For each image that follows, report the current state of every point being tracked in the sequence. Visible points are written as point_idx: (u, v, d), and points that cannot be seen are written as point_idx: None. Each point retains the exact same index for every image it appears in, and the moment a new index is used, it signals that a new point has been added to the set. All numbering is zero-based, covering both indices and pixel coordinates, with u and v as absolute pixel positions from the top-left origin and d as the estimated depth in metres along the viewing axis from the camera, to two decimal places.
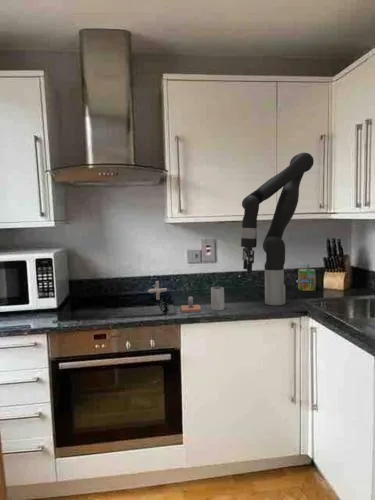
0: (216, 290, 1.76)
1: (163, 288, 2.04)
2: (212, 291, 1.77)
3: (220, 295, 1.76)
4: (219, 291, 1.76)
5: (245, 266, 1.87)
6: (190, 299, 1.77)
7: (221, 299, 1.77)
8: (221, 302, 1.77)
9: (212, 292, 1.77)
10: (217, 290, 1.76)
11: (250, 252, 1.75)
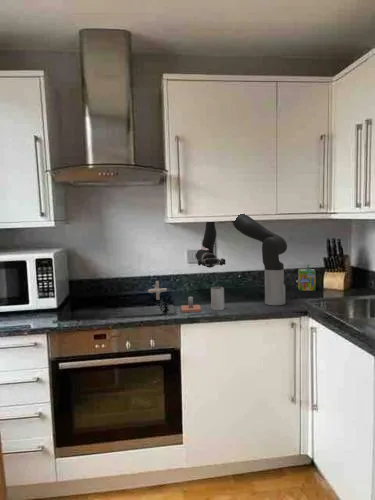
0: (216, 290, 1.76)
1: (163, 288, 2.04)
2: (212, 291, 1.77)
3: (220, 295, 1.76)
4: (219, 291, 1.76)
5: (220, 263, 1.90)
6: (190, 299, 1.77)
7: (221, 299, 1.77)
8: (221, 302, 1.77)
9: (212, 292, 1.77)
10: (217, 290, 1.76)
11: None
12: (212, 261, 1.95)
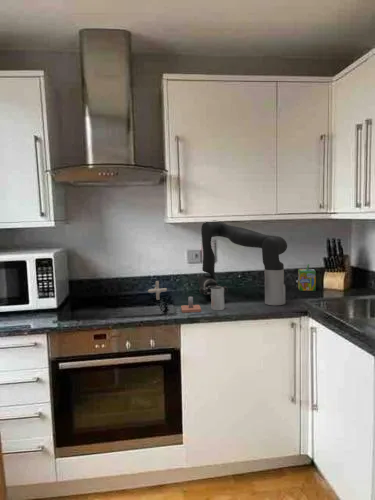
0: (216, 290, 1.76)
1: (163, 288, 2.04)
2: (212, 291, 1.77)
3: (220, 295, 1.76)
4: (219, 291, 1.76)
5: None
6: (190, 299, 1.77)
7: (221, 299, 1.77)
8: (221, 302, 1.77)
9: (212, 292, 1.77)
10: (217, 290, 1.76)
11: None
12: None
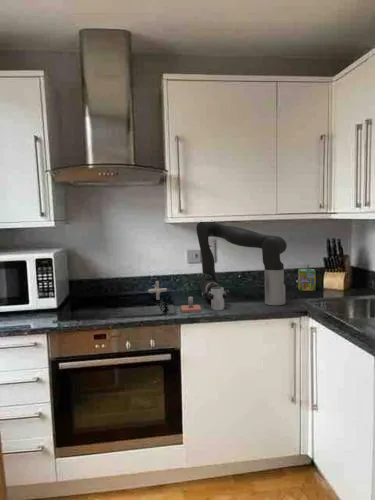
0: (216, 290, 1.76)
1: (163, 288, 2.04)
2: (212, 291, 1.77)
3: (220, 295, 1.76)
4: (219, 291, 1.76)
5: (224, 296, 1.78)
6: (190, 299, 1.77)
7: (221, 299, 1.77)
8: (221, 302, 1.77)
9: (212, 292, 1.77)
10: (217, 290, 1.76)
11: (202, 294, 1.85)
12: None
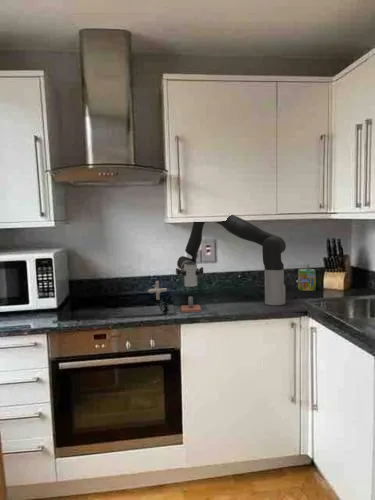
0: (189, 266, 1.74)
1: (163, 288, 2.04)
2: (185, 267, 1.75)
3: (193, 271, 1.75)
4: (192, 268, 1.74)
5: (197, 273, 1.77)
6: (190, 299, 1.77)
7: (194, 275, 1.75)
8: (194, 278, 1.75)
9: (185, 268, 1.76)
10: (190, 266, 1.74)
11: (176, 272, 1.84)
12: None
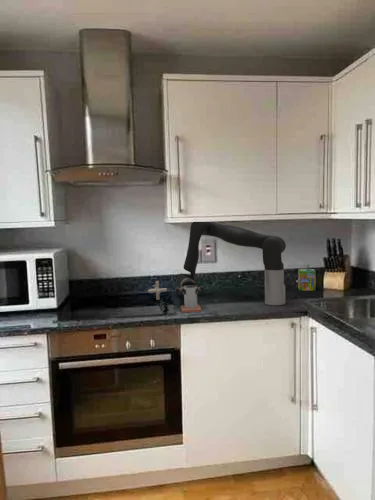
0: (188, 289, 1.75)
1: (163, 288, 2.04)
2: (185, 290, 1.76)
3: (193, 294, 1.75)
4: (192, 290, 1.75)
5: (198, 292, 1.78)
6: None
7: (194, 298, 1.76)
8: (194, 301, 1.76)
9: (185, 291, 1.76)
10: (189, 289, 1.75)
11: (175, 290, 1.85)
12: None
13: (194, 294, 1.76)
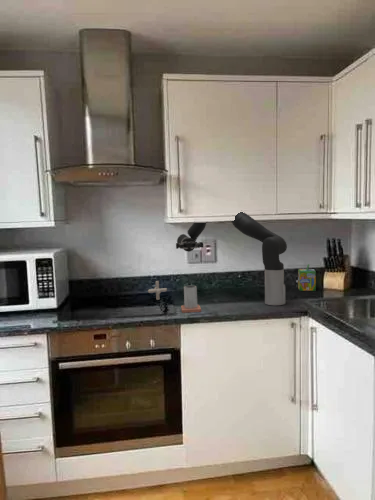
0: (189, 289, 1.75)
1: (163, 288, 2.04)
2: (185, 290, 1.76)
3: (193, 294, 1.75)
4: (192, 290, 1.75)
5: (197, 246, 1.91)
6: None
7: (194, 298, 1.76)
8: (194, 301, 1.76)
9: (185, 291, 1.76)
10: (190, 289, 1.75)
11: None
12: (190, 244, 1.96)
13: (194, 294, 1.76)
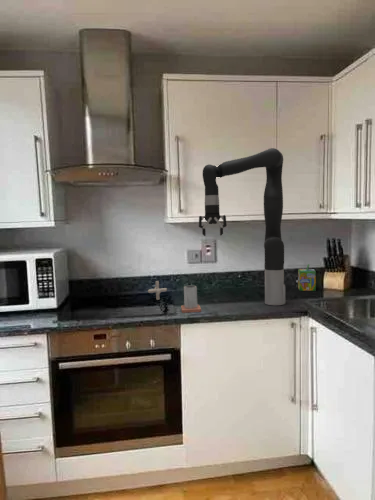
0: (189, 289, 1.75)
1: (163, 288, 2.04)
2: (185, 290, 1.76)
3: (193, 294, 1.75)
4: (192, 290, 1.75)
5: (220, 232, 1.95)
6: None
7: (194, 298, 1.76)
8: (194, 301, 1.76)
9: (185, 291, 1.76)
10: (190, 289, 1.75)
11: (199, 217, 1.94)
12: (213, 223, 1.93)
13: (194, 294, 1.76)
